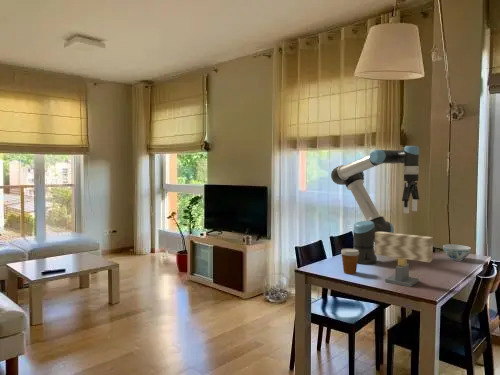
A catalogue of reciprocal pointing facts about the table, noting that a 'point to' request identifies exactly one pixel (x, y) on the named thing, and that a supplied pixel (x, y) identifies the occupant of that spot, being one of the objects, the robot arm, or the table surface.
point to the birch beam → (404, 246)
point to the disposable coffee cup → (350, 260)
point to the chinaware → (456, 251)
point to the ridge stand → (402, 275)
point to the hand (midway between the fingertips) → (410, 212)
